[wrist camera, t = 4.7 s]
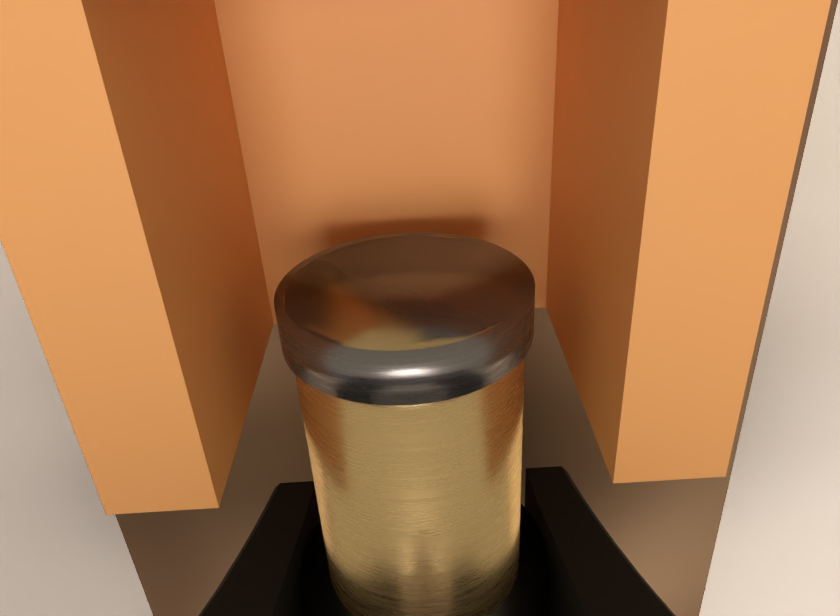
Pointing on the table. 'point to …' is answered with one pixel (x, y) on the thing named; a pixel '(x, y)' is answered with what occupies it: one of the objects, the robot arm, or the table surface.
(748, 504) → the table surface
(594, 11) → the socket block
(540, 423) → the base board
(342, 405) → the inner tube
